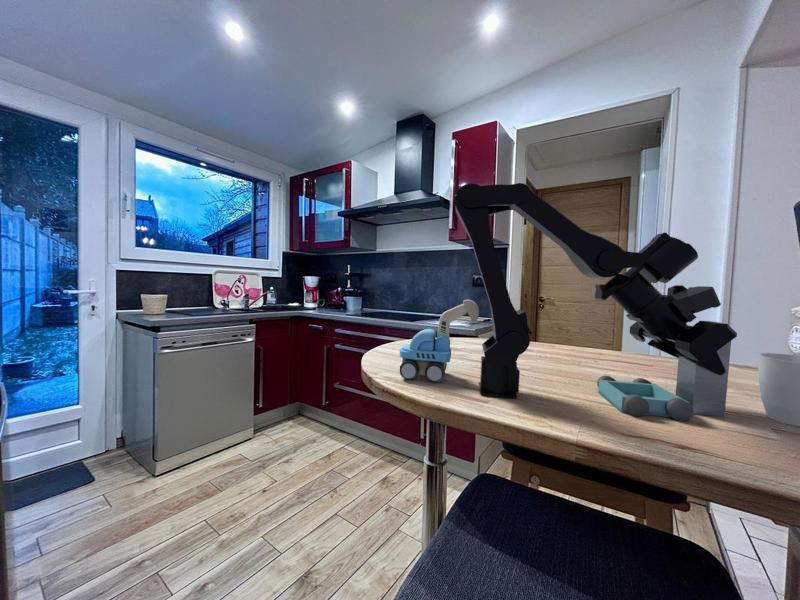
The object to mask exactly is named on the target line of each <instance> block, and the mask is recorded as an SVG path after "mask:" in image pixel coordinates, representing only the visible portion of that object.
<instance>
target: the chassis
mask: <svg viewBox="0 0 800 600" xmlns="http://www.w3.org/2000/svg"><path fill="white" fill-rule="evenodd" d="M596 385H597V388H598V389H597V390H598V392H597V393H598V394H599V395H600V396H601V397H602V398H604V399H605V400H606V401H607V402H609V403H610V405H612V406H613V407H614V408H615V409H617V410H618V411H619V412H620V413H626V414H630V415H632V416H634V417H637V418H638V417H643V416H645V415H646V416H656V417H657V416H658V417H666V418H667V417H668V418H673V419H674V420H676V421H680V422H685V421H688V420H690V419H692V417H693V415H694V414H693V407H692V406H691V404H690V403H689V402H687V401H686V400H684V399H682V398H680V397H678V396H676V394H674V393H673V392H671V391H669V390H667V389H665V388H663V387H661V386H660V385H658V384H656V383H652V382H651V381H649V380H647V379H646V378H643V377H637V378H635V379H633V381H621V380H616V379H615V378H613V377H612V376H610V375H606V374H605V375H601V376H600V377H598V379H597V382H596Z"/></svg>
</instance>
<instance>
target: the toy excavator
mask: <svg viewBox="0 0 800 600" xmlns="http://www.w3.org/2000/svg"><path fill="white" fill-rule="evenodd" d="M467 313H468V317H469V319H470V323H471V324H474V323H475V322H476V321H477V320H478V319H479V317H480V309H479V306H478V305H477V303H476V302H475V301H474V300H472V299H464V300H463V301H462V304H459V305H456V306H454V307H452V308H450V309H448V310H446V311H444V312H443V313H441V315H440V318H439V321H438V327H437V331H436V330H435V329H433V328H425V329H423V330H420V331H419V332H417V333H416V334H415V335H414V336H413V337H412V338H411V340H410V342H409V344H406V345H403V346H402V347H401V348H399V357H400V358H402V363H401V364H400V366H399V374H400V376H401V378H403V379H404V380H414V379H416V378H417V377H418V376H425V378H426V380H427V381H428V382H430V381H432V383H433V384H438V383H441V381H442V380H443V379H444V377H445V374H446V370H447V367H448V366H447V365H448V363H450V362H451V358H452V348H451V339H450V324H451V323H452V322H453V321H455V320H457V319H458V318H461V317H463V316H464V315H466V314H467Z"/></svg>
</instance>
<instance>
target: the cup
mask: <svg viewBox="0 0 800 600" xmlns="http://www.w3.org/2000/svg"><path fill="white" fill-rule="evenodd" d="M757 356H758V357H757V358H758V359H757V360H758V361H757V363H758V364H757V367H758V370H757V372H758V373H757V374H758V376H757V377H758V379H757V380H758V384H759V386H758V387H759V393H760V398H761V402H762V405H763V409H764V410H765V413H766V416H767V417H768V418H769V417H770V418H769V419H771V420H774V421H777V422H780V423H783V424H786V425H791V426H795V427H800V355H795V354H787V353H774V352H773V353H770V352H760V353H758V355H757Z"/></svg>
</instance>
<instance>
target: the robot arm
mask: <svg viewBox="0 0 800 600" xmlns="http://www.w3.org/2000/svg"><path fill="white" fill-rule="evenodd" d="M456 191H457V192H456V193H455V195H454V199H453V201H454V207H455V212H456V215H457V217H458V219H459V221H460V223H461V224H462V226H463V227H462V228H463V229H464V230H465V233H466V234H467V236H468V238H469V239H470V241H471V245H472V249H473V252H474V256H475V259H476V262H477V266H478V270H479V272H480V275H481V278H482V279H481V280H482V281H483V286H484V289H485V293H486V295H487V299H488V302H489V306H490V314H491V327H492V334H491V336H490V337H488V339H486V340H485V341H484V342H483V343H482V344H481V346H482V350H483V354H484V356H480V375H479V376H480V378H479V379H480V380H479V383H478V387H479V388H478V389H479V395H481V396H489V397H490V396H491V397H500V398H510V399H512V398H513V399H517V398H518V394H517V393H519V392H520V372H521V371H520V369H519V367H518V363H517V361H518V358H519V357H520V355H522V354H524V353H525V352H526V351H527V350H528V348H529V346H530V343H531V339H530V336H531V335H533V332H532V330H530V327H529V325H528V316H527V313H526V312H525V311H524V310H522V309H517V310H516V309H515V307H514V305H513V303H512V300H511V298H510V293H509V290H508V287H507V283H506V281H505V277H504V273H503V271H502V268H501V264H500V260H499V257H498V254H497V250H496V247H495V245H494V244H495V243H494V240H493V237H492V234H491V229H490V228H491V227H490V215H495V214H498V213H503V212H508V211H514V212H516V213H517V214H518V215H520V217H523V219H525V220H526V221H527V222H528V223H529V224H531V225H532V226H533V227H534V228H536V229H538V230H539V231H540V232H541V233H543V234H544V236H546V237H548V238H549V239H550V240H552V241H553V242H554V243H555V244H556V245H558V246H559V247H560V248H561V249H562V250H563V251H564V252H565V254H566V255H567V256H568V259H569V261H570V262H571V263H572V264H573V265H574V266H575V267H576V268H577V270H579V272H580V273H581V274H582V275H584V276H585V277H587V278H592V279H598V278H599V279H600V278H610V279H609V280H608V281H605V283H604V284H602V283H601V284H599V283H598V284H595V286H594V287H595V292H594V300H599V301H606V300H607V299H609V298H612V300H614V301H615V302H616V303H617V304H618V305H619V306H620V308H621V309H623V310H624V311H625V312H626V313H627V314H626V315H625V317H627V319H629V320H630V321H634V323H633V324H632V325H630V326H629V334H630V335H631V336H632V337H633V338H634V340H635V341H639V342H641V343H644V342H646V338H648V340H649V341H648V342H647V345H648V346H650V347H651V348H654V349H657V350H658V351H661V352H663V353H665V354H667V355H670V356H672V357H674V358H676V359H678V358H679V356H680V357H682V358H684V359H686V360H688V361H690V362H692V363H694V364H697V365H699V366H701V367H703V368H705V369H707V370H709V371H711V372H713V373H715V374H717V375H720V376H721V375H723V374H724V373H726V370H725V368H724V366H723V364H722V361H721V359H720V357H719V355H718V353H717V351H718V350H719V349H720V348H722V347H723V346H724V345H726V344H727V343H729V342H730V341H731V342H732V340H734V339H736V338H737V337H738V333H737V332H736V330H734V329H733V327H731V326H730V325H729V324H728V323H724V322H718V321H711V320H699V321H698V322H696V323H695V324H693V325H692V326H691V325H688V323H691V322H693V321H694V320H696V318H697V316H696V315H695V314H697V313H700V312H703V311H706V310H709V309H712V308H719V307H720V306H722V303H721V302H720V301H721V300H720V299H719V297H718V295H717V292H716V290H715V288H714V287H713V286H694V287H692V286H689V287H688V288H687V287H685V286H684V285H683V284H682V285H681V284H680V285H679V284H678V285H677V284H676V285H673V286H670V287H669V286H668V288H667V293H666V294H662V293H661V292H660V291H659V290H658V289H657V288H656V287H655V286H654V285H653V284H657V283H658V282H659V283H663V284H667V283H669V282H670V281H671V280H673V279H674V278H675V277H676V276H678V275H679V274H680V273H681V272H683V271H684V270H685V269H687V268H688V267H689V266H690V265H692V264H693V263H694V262H695V261H697V260H698V258H699V253H698V251H697V250H696V249H695V247H693V246H692V244H691V243H686V242H685V241H683V240H682V239H679V238H677V237H673V236H670V235H669V233H667V232H662V233H658V234H656V235H655V236H654V237H653V238H652V239H651V240H650V241H649V243H647V244H646V245H645V246H644V247H642V248H641V249H640V250H639V251H638V252H634V251H627V250H624V249H623V248H622V247H621V246H620V245H618V244H616V243H614V242H612V241H610V240H608V239H606V238H604V237H602V236H599V235H597V234H594V233H592V232H588V231H586V230H584V229H583V228H581V227H580V226H578V225H577V224H576V223H574V222H573V221H572V220H571V219H569V218H568V217H567V216H565V215H564V214H562V212H560V211H559V210H557V208H555V207H553V206H552V205H551V204H550V203H548V202H547V201H545V200H544V199H543V198H542V197H541V196H539V195H538V194H537V193H535V192H534V191H533V190H531V188H530V186H529V185H527V184H525V183H521V182H518V183H513V184H493V183H492V184H487V185H480V184H478V183H474V182H473V183H466V184H464V185H461V186H460V187H459V188H458V190H456ZM624 269H628V270H627V271H625V273H623V274H622V273H621V272H622V271H623V270H624Z"/></svg>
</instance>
